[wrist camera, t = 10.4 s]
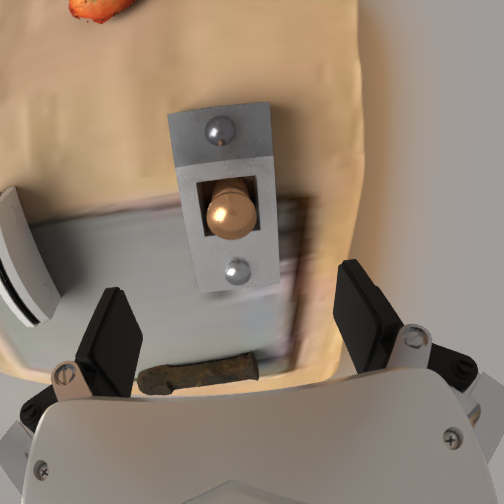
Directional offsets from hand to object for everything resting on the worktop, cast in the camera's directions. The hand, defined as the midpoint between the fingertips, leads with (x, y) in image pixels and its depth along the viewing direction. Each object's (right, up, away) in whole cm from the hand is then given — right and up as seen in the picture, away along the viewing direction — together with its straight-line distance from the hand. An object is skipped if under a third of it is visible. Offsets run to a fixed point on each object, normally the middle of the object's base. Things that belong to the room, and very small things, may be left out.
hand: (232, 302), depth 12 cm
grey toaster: (-27, +3, +16) cm, 32 cm away
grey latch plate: (-1, +8, +15) cm, 17 cm away
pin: (-1, +8, +16) cm, 17 cm away
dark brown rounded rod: (-8, -15, +28) cm, 33 cm away
